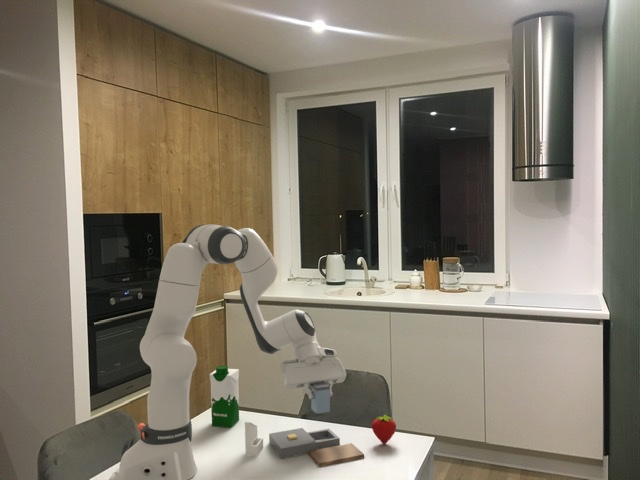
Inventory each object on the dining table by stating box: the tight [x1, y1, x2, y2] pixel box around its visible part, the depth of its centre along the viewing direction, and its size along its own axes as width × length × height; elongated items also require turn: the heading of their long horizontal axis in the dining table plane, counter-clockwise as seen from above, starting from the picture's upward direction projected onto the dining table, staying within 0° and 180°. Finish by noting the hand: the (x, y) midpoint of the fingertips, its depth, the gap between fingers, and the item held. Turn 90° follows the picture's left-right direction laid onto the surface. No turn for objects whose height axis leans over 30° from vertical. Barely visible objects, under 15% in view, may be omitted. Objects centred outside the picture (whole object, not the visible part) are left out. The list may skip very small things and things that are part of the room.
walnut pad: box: [308, 442, 365, 467], centre depth 157 cm, size 14×8×1 cm, turn 112°
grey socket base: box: [268, 427, 341, 460], centre depth 165 cm, size 19×12×4 cm, turn 112°
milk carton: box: [209, 365, 240, 429], centre depth 183 cm, size 9×9×20 cm
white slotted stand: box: [244, 421, 264, 457], centre depth 160 cm, size 4×10×9 cm, turn 168°
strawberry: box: [371, 413, 397, 445], centre depth 165 cm, size 6×8×10 cm
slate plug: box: [310, 382, 331, 415], centre depth 166 cm, size 4×4×8 cm
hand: (321, 396), depth 166 cm, fingers closed on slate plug, 4 cm apart
